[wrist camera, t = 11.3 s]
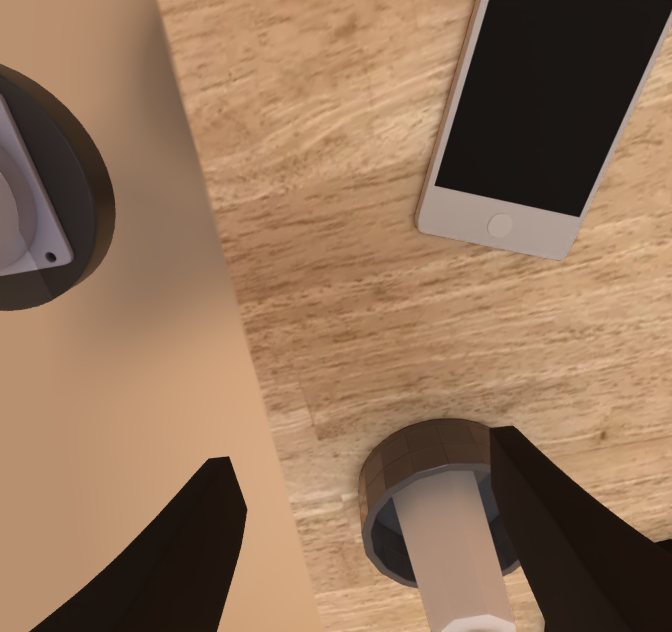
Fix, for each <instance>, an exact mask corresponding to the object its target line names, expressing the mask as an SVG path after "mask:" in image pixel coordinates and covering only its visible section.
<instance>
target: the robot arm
mask: <svg viewBox="0 0 672 632" xmlns="http://www.w3.org/2000/svg"><path fill="white" fill-rule="evenodd" d="M50 252H51V253H53V254H54V255H55V256H56V260H54V259H53V258H52V257H51V256H50ZM73 259H74V252H73V250H72V248H71V245H70V243H69V241H68V239H67V236H66V234H65V232H64V230H63V228H62V225H61V223H60V221H59V219H58V216H57V214H56V212H55V210H54V207H53V205H52V203H51V201H50V199H49V196H48V194H47V192H46V190H45V187H44V185H43V183H42V181H41V178H40V176H39V174H38V172H37V170H36V167H35V165H34V163H33V161H32V158H31V156H30V154H29V152H28V150H27V147H26V145H25V143H24V141H23V138H22V136H21V134H20V132H19V129H18V127H17V125H16V123H15V121H14V118H13V116H12V114H11V112H10V109H9V107H8V105H7V103H6V100H5V98H4V97H3V95H2V94H1V93H0V276H4V275H10V274H16V273H21V272H27V271H33V270H38V269H44V268H50V267H55V266H61V265H66V264H68V263H70V262H72V261H73ZM489 437H490V469H491V488H492V491H493V494H494V497H495V501H496V504H497V507H498V510H499V513H500V516H501V520H502V523H503V525H504V528H505V530H506V532H507V535H508V537H509V539H510V542H511V544H512V546H513V548H514V551H515V553H516V555H517V558H518V560H519V562H520V564H521V567H522V569H523V571H524V574H525V576H526V578H527V580H528V583H529V585H530V587H531V589H532V592H533V594H534V596H535V599H536V601H537V603H538V605H539V608H540V610H541V612H542V615H543V617H544V620H545V622H546V625H547V627H548V630H549V632H672V554H671V553H669V552H667V551H666V550H664V549H663V548H661V547H660V546H658V545H657V544H656V543H654V542H653V541H651V540H650V539H648V538H647V537H645V536H644V535H642V534H641V533H640V532H638V531H637V530H635V529H634V528H633V527H631V526H630V525H629V524H627V523H626V522H624V521H623V520H622V519H620V518H619V517H618V516H616V515H615V514H614V513H613V512H611V511H610V510H609V509H607V508H606V507H605V506H604V505H602V504H601V503H600V502H599V501H597V500H596V499H595V498H593V497H592V496H591V495H590V494H589V493H587V492H586V491H585V490H584V489H583V488H581V487H580V486H579V485H578V484H577V483H576V482H574V481H573V480H572V479H571V478H570V477H569V476H567V475H566V474H565V473H564V472H563V471H562V470H560V469H559V468H558V467H557V466H556V465H555V464H554V463H553V462H552V461H550V460H549V459H548V458H547V457H546V456H545V455H544V454H543V453H542V452H541V451H540V450H539V449H538V448H537V447H535V446H534V445H533V444H532V443H531V442H530V441H529V440H528V439H527V438H526V437H525V436H524V435H523V434H522V433H521V432H520V431H519V430H518V429H517V428H515V427H514V426H505V427H495V428H489ZM246 514H247V507H246V504H245V501H244V498H243V495H242V492H241V489H240V486H239V484H238V481H237V478H236V475H235V472H234V469H233V466H232V463H231V461H230V458H229V456H228V457H219V458H210V459H208V460H207V461H206V462H205V463H204V464H203V465H202V466H201V468H199V470H198V471H197V472H196V473H195V474H194V475H193V476H192V477H191V479H190V480H189V481H188V482H187V483H186V484H185V485H184V486H183V488H182V489H181V490H180V491H179V492H178V493H177V494H176V496H175V497H174V498H173V499H172V500H171V501H170V502H169V503H168V505H167V506H166V507H165V508H164V509H163V510H162V511H161V512H160V513H159V514H158V516H157V517H156V518H155V519H154V520H153V521H152V522H151V523H150V524H149V525H148V526H147V527H146V528H145V529H144V530H143V531H142V532H141V533H140V534H139V535H138V536H137V537H136V538H135V539H134V540H133V541H132V542H131V543H130V544H129V545H128V547H126V548H125V550H124V551H123V552H122V553H121V554H119V555H118V556H117V558H115V559H114V560H113V561H112V562H111V563H110V564H109V565H108V566H107V567H106V568H105V569H104V570H103V571H101V572H100V573H99V574H98V575H97V576H96V577H95V578H94V579H92V580H91V581H90V582H89V583H88V584H87V585H86V586H85V587H84V588H82V589H81V590H80V591H79V592H78V593H77V594H75V596H73V597H72V598H70V600H68V601H67V602H66V603H64V604H63V605H62V606H61V607H59V608H58V609H57V610H56V611H55V612H53V613H52V614H51V615H49V616H48V617H47V618H46V619H45V620H43V621H42V622H41V623H40V624H38V625H37V626H36V627H35V628H33V629H32V630H31V631H29V632H217V629H218V626H219V622H220V619H221V616H222V612H223V609H224V605H225V602H226V598H227V594H228V592H229V588H230V585H231V581H232V578H233V574H234V570H235V567H236V564H237V560H238V557H239V553H240V549H241V545H242V539H243V534H244V528H245V521H246Z"/></svg>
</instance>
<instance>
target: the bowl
mask: <svg viewBox="0 0 672 632" xmlns="http://www.w3.org/2000/svg"><path fill="white" fill-rule="evenodd" d="M448 471H473V472H474V475H475V479H476V482H477V486H478V490H479V493H480V497H481V500H482V504H483V507H484V511H485V515H486V518H487V522H488V525H489V529H490V533H491V536H492V540H493V543H494V547H495V550H496V554H497V558H498V561H499V565H500V568H501V572H502V576H505V575H507V574H509V573H511V572H513V571H515V570H516V569H517V568H518V567H519V566H521V564H520V562H519V560H518V558H517V555H516V553H515V551H514V548H513V546H512V544H511V542H510V539H509V537H508V535H507V532H506V530H505V528H504V525H503V523H502V520H501V516H500V513H499V510H498V507H497V504H496V501H495V497H494V494H493V491H492V488H491V469H490V437H489V427H487V426H485V425H482V424H479V423H476V422H472V421H468V420H460V419H439V420H431V421H426V422H421V423H418V424H415V425H412V426H409V427H407V428H404V429H402V430H400V431H398V432H396V433H395V434H393V435H391V436H390V437H388V438H387V439H386V440H384V441H383V442H382V443H381V444H380V445H379V446H377V447H376V448H375V450H374V451H373V452H372V453H371V454H370V456H369V457H368V459H367V460H366V462H365V464H364V466H363V469H362V471H361V475H360V479H359V490H358V495H359V508H360V520H361V533H362V538H363V543H364V548H365V553H366V555H367V557H368V558H369V559H370V560H371V562H372V563H373V564H374V565H375V567H376V568H377V569H378V570H379V571H380V572H381V573H382V574H384V575H385V576H387V577H389V578H391V579H393V580H394V581H396V582H398V583H400V584H402V585H405V586H409V587H413V588H418V585H417V581H416V578H415V574H414V571H413V568H412V564H411V561H410V557H409V554H408V550H407V547H406V543H405V540H404V536H403V533H402V529H401V526H400V523H399V519H398V516H397V512H396V509H395V505H394V502H393V498H392V496H393V494H395V493H397V492H398V491H400V490H402V489H403V488H405V487H407V486H408V485H410V484H412V483H414V482H415V481H417V480H419V479H422V478H426V477H429V476H433V475H437V474H440V473H444V472H448ZM418 589H419V588H418Z"/></svg>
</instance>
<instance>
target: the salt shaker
mask: <svg viewBox="0 0 672 632" xmlns="http://www.w3.org/2000/svg"><path fill="white" fill-rule="evenodd" d="M392 498H393V502H394V505H395V509H396V512H397V516H398V519H399V523H400V526H401V529H402V533H403V536H404V540H405V543H406V547H407V550H408V554H409V557H410V561H411V564H412V568H413V571H414V574H415V578H416V581H417V585H418V588H419V592H420V595H421V599H422V602H423V606H424V609H425V612H426V616H427V619H428V623H429V626H430V630H431V632H516V626H515V621H514V617H513V613H512V609H511V604H510V601H509V597H508V593H507V590H506V586H505V583H504V579H503V576H502V572H501V568H500V565H499V561H498V558H497V554H496V550H495V547H494V543H493V540H492V536H491V533H490V529H489V525H488V522H487V518H486V515H485V511H484V507H483V504H482V500H481V497H480V493H479V490H478V486H477V482H476V479H475V475H474V472H473V471H448V472H444V473H440V474H437V475H433V476H429V477H426V478H422V479H419V480H417V481H415V482H414V483H412V484H410V485H408V486H407V487H405V488H403V489H402V490H400V491H398V492H397V493H395V494H393V496H392Z"/></svg>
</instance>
